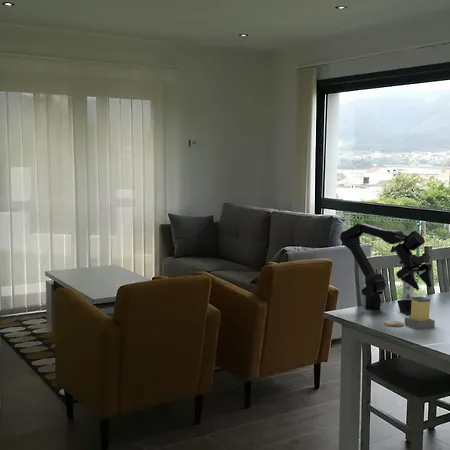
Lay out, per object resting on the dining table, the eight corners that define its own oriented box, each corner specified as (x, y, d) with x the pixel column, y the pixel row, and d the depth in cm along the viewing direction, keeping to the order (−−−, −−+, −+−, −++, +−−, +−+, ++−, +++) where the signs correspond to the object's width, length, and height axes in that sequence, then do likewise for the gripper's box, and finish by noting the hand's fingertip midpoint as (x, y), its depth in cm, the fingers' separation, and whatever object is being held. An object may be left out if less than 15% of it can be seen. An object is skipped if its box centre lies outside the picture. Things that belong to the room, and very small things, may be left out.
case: (391, 319, 255) (391, 311, 255) (407, 318, 258) (407, 310, 258) (418, 330, 240) (418, 322, 239) (434, 328, 243) (434, 320, 243)
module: (410, 324, 246) (411, 297, 245) (420, 323, 248) (421, 296, 247) (418, 327, 242) (420, 299, 240) (428, 326, 244) (430, 299, 242)
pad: (386, 328, 242) (386, 325, 242) (381, 322, 250) (381, 320, 250) (406, 328, 243) (406, 326, 242) (400, 323, 250) (400, 320, 250)
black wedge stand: (410, 315, 258) (404, 293, 263) (400, 321, 263) (394, 300, 269) (431, 316, 262) (425, 295, 267) (421, 323, 268) (415, 302, 273)
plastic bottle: (416, 307, 278) (418, 264, 275) (412, 310, 272) (414, 266, 270) (402, 304, 281) (404, 262, 279) (398, 307, 275) (400, 264, 273)
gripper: (406, 248, 247) (426, 281, 241) (431, 244, 259) (451, 276, 253) (387, 262, 255) (406, 294, 249) (413, 257, 266) (431, 288, 260)
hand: (424, 288), depth 252 cm, fingers open, 9 cm apart
